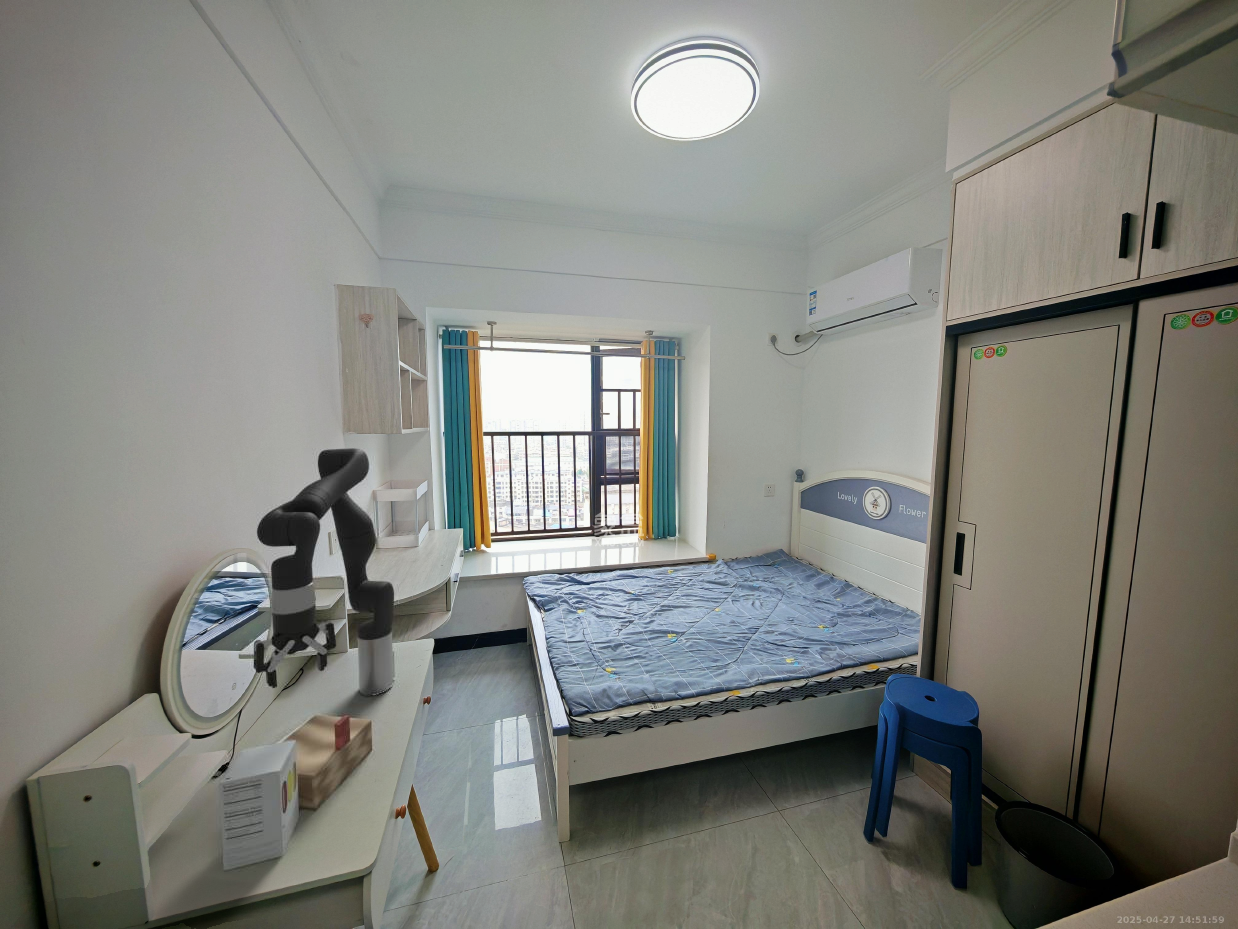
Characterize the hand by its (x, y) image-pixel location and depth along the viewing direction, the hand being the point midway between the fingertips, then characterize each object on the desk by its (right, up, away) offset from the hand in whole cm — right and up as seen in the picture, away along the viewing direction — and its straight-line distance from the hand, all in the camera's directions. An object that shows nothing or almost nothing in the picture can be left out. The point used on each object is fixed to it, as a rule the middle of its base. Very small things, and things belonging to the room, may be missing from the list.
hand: (298, 677), depth 97 cm
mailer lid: (0, -18, +6) cm, 19 cm away
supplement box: (+1, -27, -10) cm, 29 cm away
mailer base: (0, -25, +6) cm, 26 cm away
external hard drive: (-12, -25, +20) cm, 34 cm away
